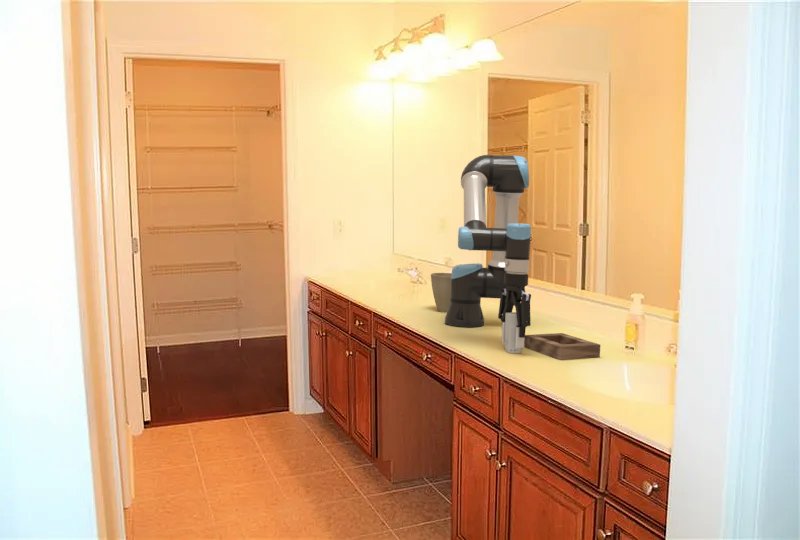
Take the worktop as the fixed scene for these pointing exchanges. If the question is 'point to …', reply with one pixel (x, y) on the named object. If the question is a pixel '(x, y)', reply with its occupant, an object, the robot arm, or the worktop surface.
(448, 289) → the plant pot
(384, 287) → the worktop surface
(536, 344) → the tray
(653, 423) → the worktop surface
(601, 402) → the worktop surface
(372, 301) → the worktop surface
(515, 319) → the skincare box
